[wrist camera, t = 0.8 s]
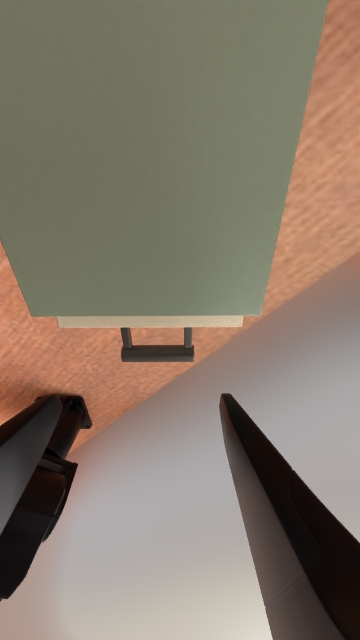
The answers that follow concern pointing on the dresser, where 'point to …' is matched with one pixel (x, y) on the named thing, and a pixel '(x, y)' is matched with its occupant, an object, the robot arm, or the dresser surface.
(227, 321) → the drawer
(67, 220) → the cabinet
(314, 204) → the dresser surface
